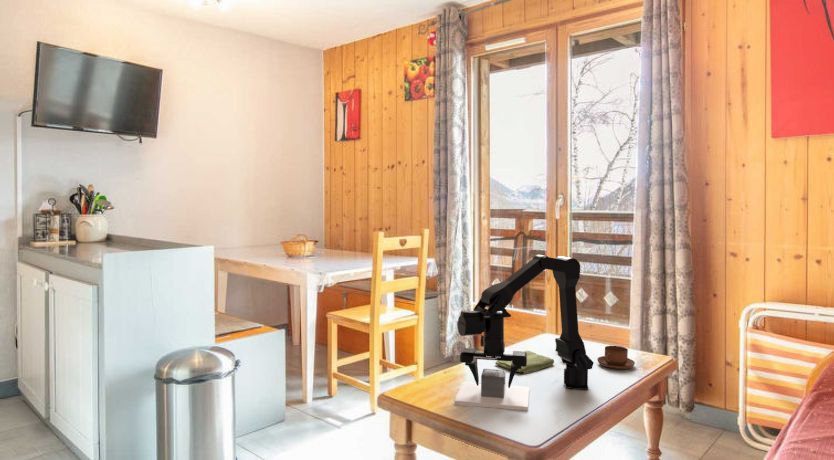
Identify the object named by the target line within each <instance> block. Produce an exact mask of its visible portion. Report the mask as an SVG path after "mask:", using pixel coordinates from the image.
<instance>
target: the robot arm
mask: <svg viewBox="0 0 834 460" xmlns="http://www.w3.org/2000/svg"><path fill="white" fill-rule="evenodd" d="M546 270H549V271H552V276H553V278H554V280H555V282H556V284H557V285H558V293H559V294H558V295H559V297H558V298H559V309H560V322H561V323H560V325H561V334H560V336H559V337H556V338H555V339H554V341H555V352H557V355H558V356H559V357H560V359H561V362H562V363H563V364H565V368H564V369H563V384H564V385H565V388H566V389H576V390H589V386H588V385H589V384H588V383H589V382H588V381H589V376H588V375H589V370H592V369H593V366H594V363H595V362H594V361H593V360H592V359H591V358H590V357H589V356H588V355H587V351H586V346H585V343H584V341H583V339H582V337H581V335H580V333H579V318H578V303H577V289H576V288H577V284H578V282H579V280H580V278H581V277H580V276H581V264H580V261H579V260H578V259H576V258H574V257H569V256H563V255H561V256H560V255H558V256H557V257H550V256H547V255H545V254H544V255H542V254H536V255H534V256H533V257H532V259H531V260H529V261H528V262H526V263H525V264H524V265H523V266H522V267H520V268H519V269H518V270H515V272H514V273H512V275H510V276H509V277H508V278H506V279H504V280H503V281H500V282H498V283H495V284H492V285H491V286H489V287H487V288H485V289H484V290H483V291H481V296H480V298H479V300H478V302H477V303H476V305H475V306H474V307H473V310H472V311H471V310H470V311H466V310H462V311H460V315H459V317H458V318H457V319H458V320H457V322H456V323H457V324H456V326H457V331H458V334H459V335H460V336H462V337H465V336H475V335H476V336H478V335H480V347H481V348H482V347H483V352H481V351H479V352H478V351H477V349H476V348H471V347H468V348H467V347H464V348H462V349H461V351H460V355H459V362H460V363H464V365H465V366H467V367H468V368H469V370H470V372H471V374H472V376H473V379H474V383H476V384H477V386H478V385H479V383H480V379H479V366H478V360H484V361H485V360H486V361H498V360H499V361H512V363H511V369H509V377H508V382H507V383H508V384H507V385H508V388H510V386H511V385H512V383H513V380H514V378H515V375H516V373H517V369H521V367H522V366H523V367H525V366H527V353H526V352H524V351H522V350H521V351H518V350H513V351H512V354H507V353H505V318H511V317H512V315H511V313H510V312H508V310H507V309H506V307H507V306H508V305H509V304H510V303H512V301H513V299H514V297H515V295H516V294H517V292H519V291H520V290H521V289H523V288H524V287H525V286H526V285H528V284H529V283H531V282H532V281H533V280H534V279H535V278H536V277H537V276H539V275H540V274H541V273H543V272H544V271H546ZM482 334H483V335H482Z"/></svg>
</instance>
